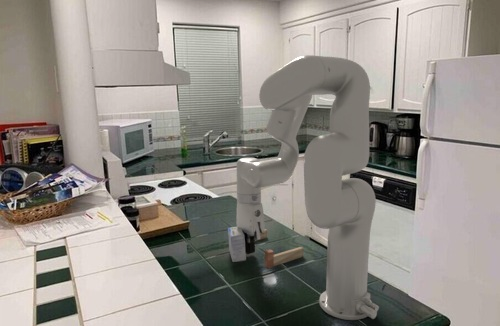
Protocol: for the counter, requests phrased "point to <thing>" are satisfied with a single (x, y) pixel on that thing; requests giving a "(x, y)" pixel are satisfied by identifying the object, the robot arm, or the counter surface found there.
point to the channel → (280, 254)
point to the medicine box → (236, 244)
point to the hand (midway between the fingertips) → (249, 252)
